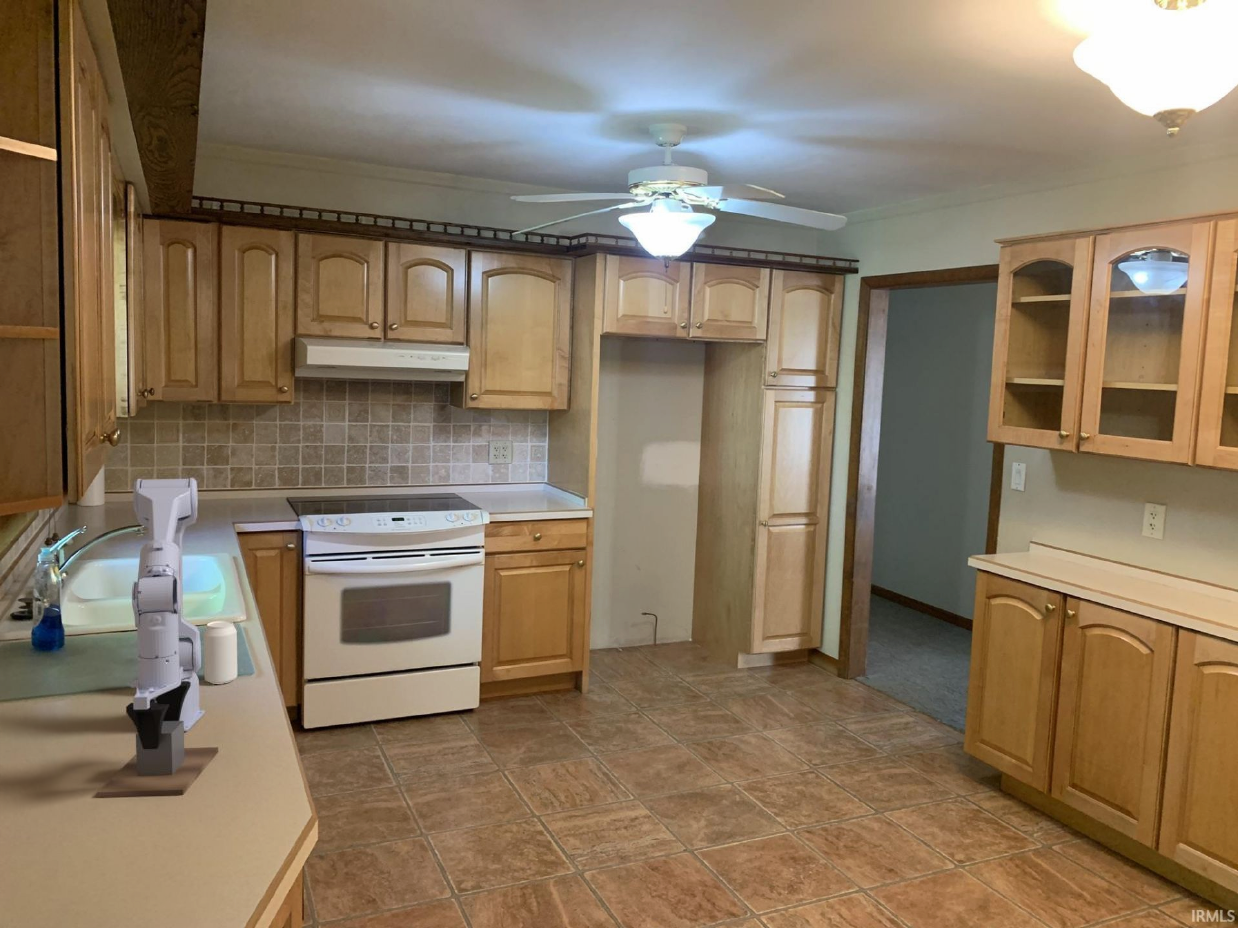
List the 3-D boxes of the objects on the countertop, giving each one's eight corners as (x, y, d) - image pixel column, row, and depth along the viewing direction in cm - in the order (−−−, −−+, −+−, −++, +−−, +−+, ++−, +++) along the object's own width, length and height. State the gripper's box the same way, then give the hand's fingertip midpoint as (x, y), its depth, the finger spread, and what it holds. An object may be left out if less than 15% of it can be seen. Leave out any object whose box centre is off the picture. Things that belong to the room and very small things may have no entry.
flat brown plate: (142, 753, 151) (141, 719, 150) (218, 751, 152) (217, 717, 152) (97, 797, 135) (96, 758, 134) (183, 794, 136) (182, 756, 136)
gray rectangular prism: (150, 761, 146) (149, 721, 145) (184, 760, 146) (183, 720, 146) (136, 775, 141) (135, 733, 140) (172, 774, 141) (171, 733, 141)
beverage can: (215, 675, 191) (214, 618, 190) (243, 677, 190) (242, 620, 189) (198, 685, 185) (196, 626, 184) (226, 686, 184) (225, 628, 183)
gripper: (150, 640, 149) (152, 721, 150) (110, 668, 134) (113, 757, 135) (195, 639, 149) (197, 720, 151) (161, 667, 135) (163, 756, 136)
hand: (160, 738), depth 143 cm, fingers open, 7 cm apart
